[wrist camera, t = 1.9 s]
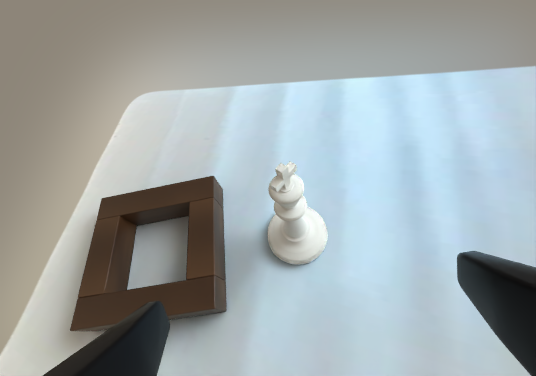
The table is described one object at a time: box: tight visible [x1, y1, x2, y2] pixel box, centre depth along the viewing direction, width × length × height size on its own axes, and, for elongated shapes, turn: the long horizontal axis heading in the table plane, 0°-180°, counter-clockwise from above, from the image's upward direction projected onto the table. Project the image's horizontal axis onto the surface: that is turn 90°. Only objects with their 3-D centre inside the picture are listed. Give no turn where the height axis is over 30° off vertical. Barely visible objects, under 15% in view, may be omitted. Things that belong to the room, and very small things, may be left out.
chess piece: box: [268, 162, 328, 265], centre depth 17 cm, size 5×5×10 cm
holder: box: [70, 176, 226, 331], centre depth 21 cm, size 11×11×2 cm
